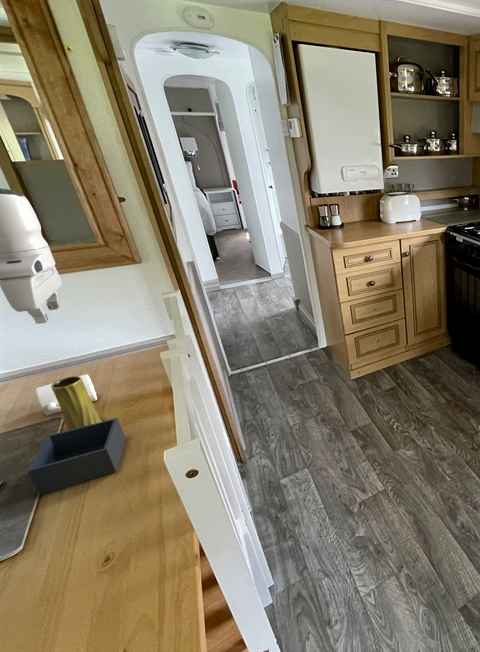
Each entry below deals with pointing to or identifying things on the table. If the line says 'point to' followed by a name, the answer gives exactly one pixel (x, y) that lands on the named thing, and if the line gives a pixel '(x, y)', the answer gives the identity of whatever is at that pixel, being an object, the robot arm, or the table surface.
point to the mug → (49, 398)
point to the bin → (77, 456)
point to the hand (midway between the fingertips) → (49, 315)
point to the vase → (75, 402)
